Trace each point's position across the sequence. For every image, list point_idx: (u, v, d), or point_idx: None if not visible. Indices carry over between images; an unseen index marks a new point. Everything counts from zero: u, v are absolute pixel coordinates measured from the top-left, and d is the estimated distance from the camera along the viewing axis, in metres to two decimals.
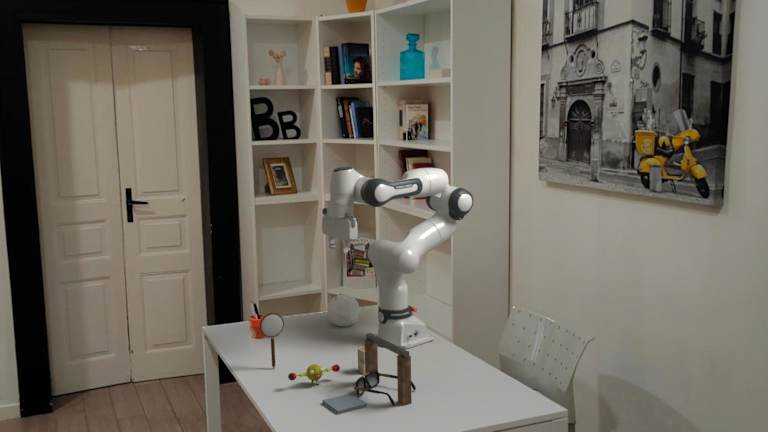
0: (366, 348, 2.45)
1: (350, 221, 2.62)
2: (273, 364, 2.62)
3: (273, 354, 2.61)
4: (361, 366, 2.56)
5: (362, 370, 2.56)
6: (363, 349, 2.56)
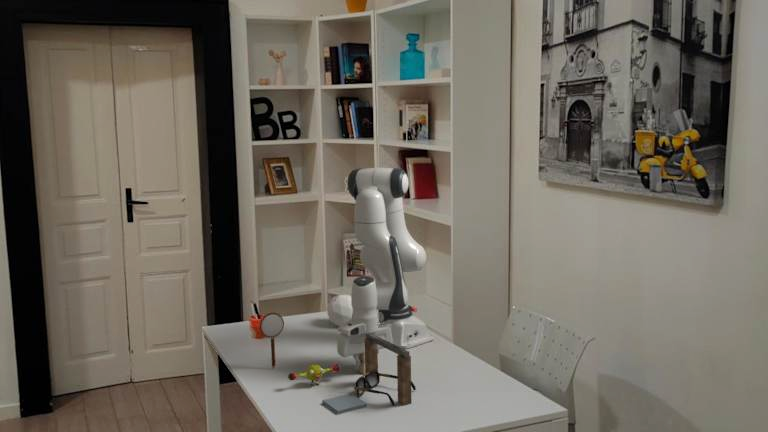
0: (366, 348, 2.45)
1: (388, 327, 2.60)
2: (273, 364, 2.62)
3: (273, 354, 2.61)
4: (361, 366, 2.56)
5: (362, 369, 2.56)
6: None
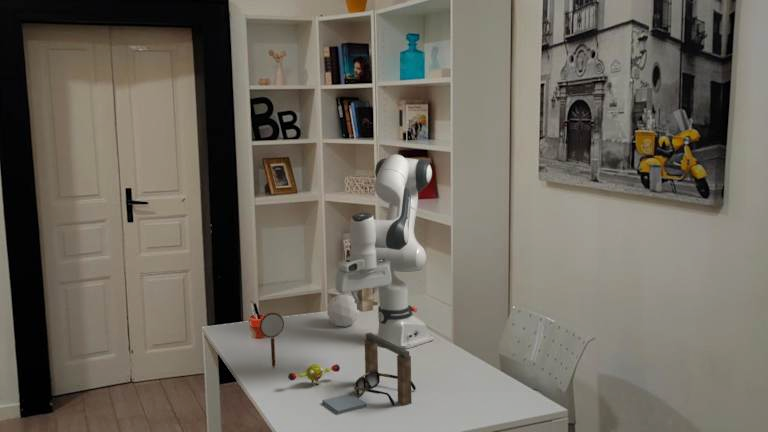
0: (366, 348, 2.45)
1: (387, 265, 2.56)
2: (273, 364, 2.62)
3: (273, 354, 2.61)
4: (360, 304, 2.53)
5: (361, 307, 2.52)
6: None
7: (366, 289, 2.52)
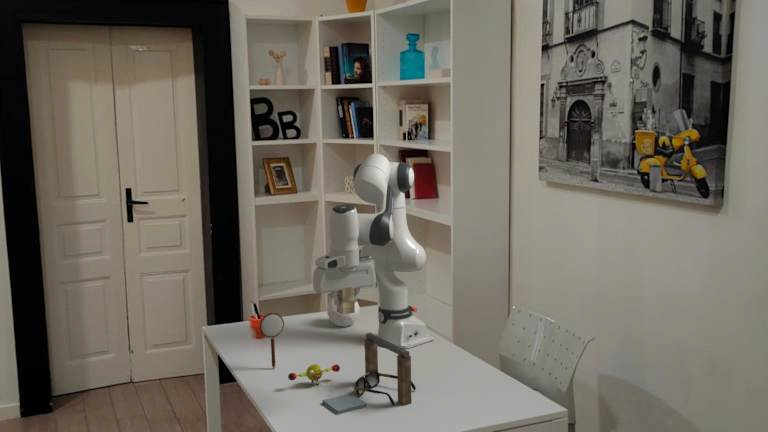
0: (366, 348, 2.45)
1: None
2: (273, 364, 2.62)
3: (273, 354, 2.61)
4: (340, 305, 2.28)
5: (341, 309, 2.28)
6: None
7: (347, 289, 2.27)
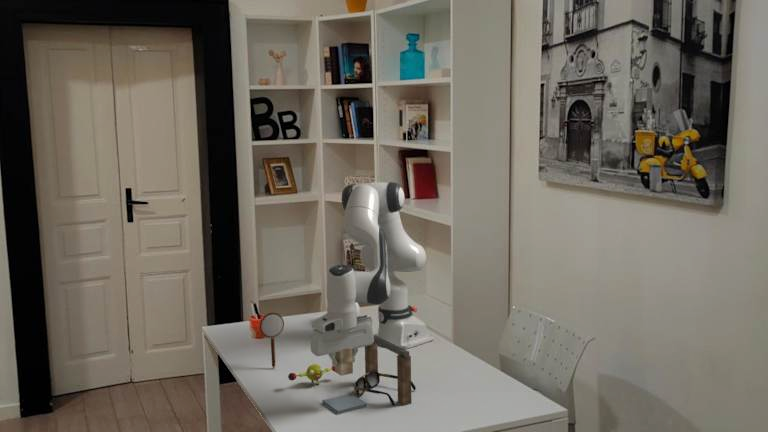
0: (366, 348, 2.45)
1: (369, 322, 2.30)
2: (273, 364, 2.62)
3: (273, 354, 2.61)
4: (338, 366, 2.27)
5: (339, 370, 2.26)
6: None
7: (345, 350, 2.25)
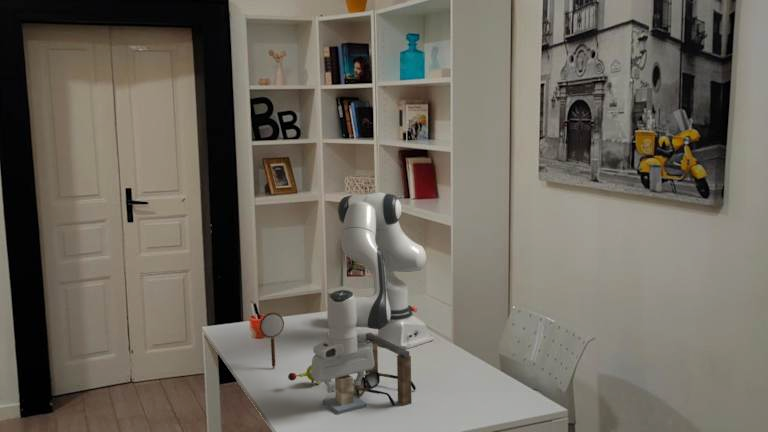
0: None
1: (369, 347, 2.31)
2: (273, 364, 2.62)
3: (273, 354, 2.61)
4: (339, 396, 2.28)
5: (340, 400, 2.27)
6: (341, 377, 2.28)
7: (346, 380, 2.27)
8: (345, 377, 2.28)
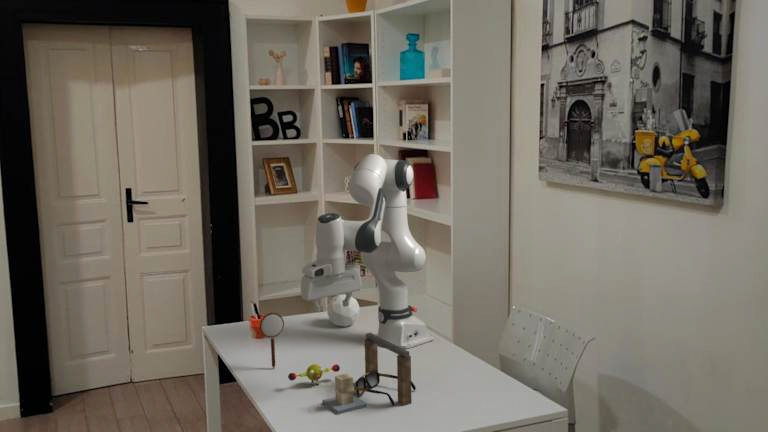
0: (366, 348, 2.45)
1: (357, 269, 2.39)
2: (273, 364, 2.62)
3: (273, 354, 2.61)
4: (339, 396, 2.28)
5: (340, 400, 2.27)
6: (341, 377, 2.28)
7: (346, 380, 2.27)
8: (345, 377, 2.28)
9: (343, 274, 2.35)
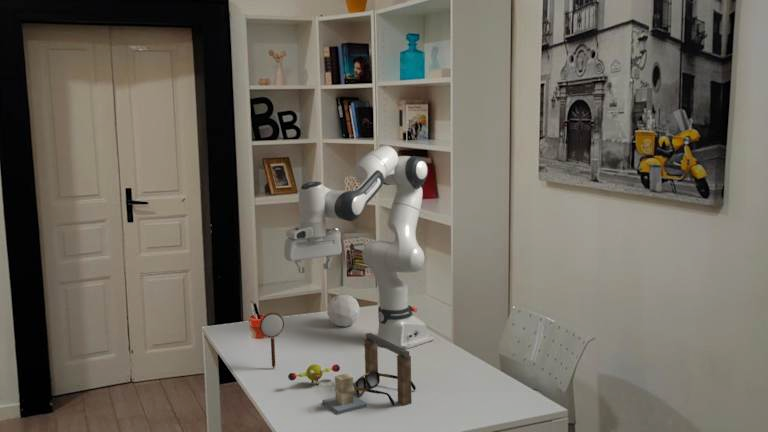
0: (366, 348, 2.45)
1: (337, 234, 2.57)
2: (273, 364, 2.62)
3: (273, 354, 2.61)
4: (339, 396, 2.28)
5: (340, 400, 2.27)
6: (341, 377, 2.28)
7: (346, 380, 2.27)
8: (345, 377, 2.28)
9: (324, 238, 2.54)
